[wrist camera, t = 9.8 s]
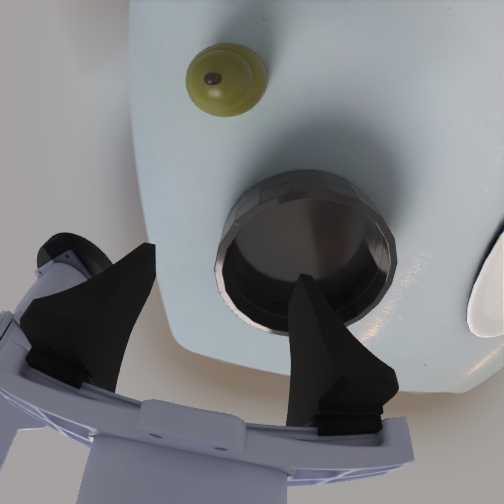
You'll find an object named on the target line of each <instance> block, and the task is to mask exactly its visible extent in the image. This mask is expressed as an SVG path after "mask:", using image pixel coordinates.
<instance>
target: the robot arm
mask: <svg viewBox="0 0 504 504" xmlns="http://www.w3.org/2000/svg"><path fill="white" fill-rule="evenodd" d="M34 273H35V275H36V277H37V278H38V279H37V281H36V282H35V283H34V284H33V286H32V287H31V288H30V290H29V291H28V292H27V293H26V295H25V296H24V297H23V299H22V300H21V302H20V303H19V304H18V306H17V307H16V309H15V312H14V314H12V313H11V312H10V311H7V312H5V311H2V312H1V313H0V472H1V469H2V466H3V464H4V461H5V459H6V456H7V454H8V452H9V449H10V447H11V445H12V442H13V440H14V438H15V436H16V434H17V431H18V430H25V429H41V428H45V427H46V426H49V427H51V428H52V429H54V430H56V431H58V432H60V433H61V434H63V435H65V436H67V437H69V438H71V439H73V440H75V441H77V442H79V443H81V444H83V445H85V446H88V447H90V448H91V449H90V453H89V456H88V460H87V463H86V467H85V471H84V474H83V478H82V482H81V486H80V490H79V494H78V498H77V503H76V504H287V487H288V486H306V485H318V484H327V483H335V482H342V481H350V480H356V479H361V478H367V477H374V476H379V475H384V474H386V473H388V472H391V471H394V470H396V469H398V468H400V467H403V466H405V465H407V464H409V463H411V462H413V461H414V455H413V449H412V443H411V438H410V433H409V428H408V423H407V418H406V417H405V416H404V417H394V418H387V419H384V420H381V416H380V415H381V414H383V407H382V406H383V405H384V404H385V403H387V402H388V401H389V400H390V399H391V398H393V397H394V395H395V394H396V393H397V392H398V390H399V385H398V381H397V377H396V374H395V371H394V369H392V368H391V367H390V366H388V365H387V364H385V363H384V362H382V361H381V360H380V359H378V358H377V357H376V356H375V355H373V354H372V353H371V352H370V351H369V350H368V349H367V348H365V347H364V346H363V345H362V344H361V343H360V342H359V341H358V340H357V339H356V338H355V337H354V336H353V335H352V333H351V332H350V331H349V330H348V329H347V328H346V326H345V325H344V324H343V323H342V321H341V320H340V319H339V317H338V316H337V315H336V313H335V312H334V311H333V309H332V308H331V306H330V305H329V303H328V301H327V300H326V298H325V297H324V295H323V293H322V292H321V290H320V288H319V287H318V285H317V283H316V282H315V280H314V278H313V277H312V275H307V274H302V273H300V275H299V277H298V280H297V282H296V285H295V287H294V290H293V292H292V295H291V297H290V300H289V302H288V330H289V342H290V354H291V376H290V393H289V403H288V414H287V421H286V426H275V425H262V424H253V423H245V422H244V420H242V419H240V418H238V417H236V416H233V415H230V414H226V413H220V412H214V411H208V410H203V409H198V408H193V407H188V406H183V405H179V404H175V403H170V402H166V401H161V400H154V399H151V400H145V401H143V402H141V401H138V400H135V399H131V398H128V397H125V396H121V395H119V394H115V389H116V384H117V379H118V375H119V371H120V367H121V363H122V360H123V356H124V353H125V349H126V346H127V343H128V340H129V337H130V334H131V332H132V329H133V327H134V325H135V323H136V320H137V318H138V316H139V314H140V312H141V310H142V308H143V306H144V304H145V302H146V300H147V298H148V296H149V294H150V291H151V289H152V286H153V283H154V280H155V277H156V251H155V244H150V243H143V244H141V245H140V246H138V247H137V248H136V249H134V250H133V251H132V252H130V253H129V254H128V255H126V256H125V257H123V258H122V259H121V260H119V261H118V262H116V263H115V264H113V265H112V266H110V267H109V268H107V269H106V270H104V271H103V272H101V273H100V274H98V275H96V276H94V277H92V276H91V274H90V273H89V272H88V270H87V269H86V268H85V266H84V265H83V264H82V262H81V261H80V260H79V258H78V257H77V256H76V254H75V253H74V252H73V251H72V250H67V251H66V252H64V253H62V254H61V255H59V256H57V257H56V258H54V259H52V260H51V261H49V262H48V263H46V264H44V265H43V266H41V267H40V268H38V269H37V270H35V272H34Z"/></svg>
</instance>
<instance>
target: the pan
mask: <svg viewBox="0 0 504 504" xmlns="http://www.w3.org/2000/svg"><path fill="white" fill-rule="evenodd" d="M396 266H397V253H396V245H395V239H394V237H393V235H392V233H391V231H390V229H389V228H388V226H387V224H386V223H385V221H384V219H383V217H382V216H381V215H380V213H379V212H378V210H377V209H376V207H375V206H374V205H373V203H372V202H371V200H370V199H369V198H368V197H367V195H365V194H364V193H363V192H362V191H361V190H360V189H359V188H358V187H356V186H355V185H354V184H352V183H351V182H349V181H347V180H346V179H344V178H342V177H339V176H337V175H334V174H331V173H327V172H323V171H315V170H297V171H290V172H285V173H281V174H278V175H275V176H272V177H270V178H268V179H265V180H263V181H262V182H260V183H258V184H257V185H255V186H254V187H252V188H251V189H250V190H249V191H247V192H246V193H245V194H244V195H243V196H242V197H241V198H240V199H239V201H238V202H237V203H236V205H235V206H234V208H233V209H232V211H231V213H230V215H229V217H228V219H227V220H226V222H225V226H224V229H223V232H222V236H221V239H220V243H219V247H218V252H217V257H216V262H215V268H214V272H215V276H216V281H217V286H218V290H219V293H220V295H221V296H222V298H223V299H224V301H225V302H226V304H227V305H228V307H229V308H230V310H231V311H232V312H233V313H235V314H236V315H237V316H238V317H240V318H241V319H242V320H244V321H245V322H246V323H247V324H249V325H251V326H253V327H256V328H258V329H261V330H263V331H265V332H268V333H271V334H276V335H282V336H288V337H289V330H288V302H289V300H290V297H291V295H292V292H293V290H294V287H295V285H296V282H297V280H298V277H299V275H300V273H302V274H307V275H312V277H313V278H314V280H315V282H316V283H317V285H318V287H319V288H320V290H321V292H322V293H323V295H324V297H325V298H326V300H327V301H328V303H329V305H330V306H331V308H332V309H333V311H334V312H335V313H336V315H337V316H338V317H339V319H340V320H341V321H342V323H343V324H344V325H345V326H346V327H347V326H349V325H351V324H353V323H355V322H357V321H358V320H360V319H361V318H363V317H364V316H366V315H367V314H368V313H369V312H370V311H371V310H372V309H374V308H375V307H376V306H377V305H378V304H379V303H380V301H381V300H382V298H383V297H384V295H385V294H386V292H387V291H388V289H389V288H390V286H391V284H392V282H393V278H394V274H395V270H396Z"/></svg>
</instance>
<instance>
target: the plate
mask: <svg viewBox="0 0 504 504" xmlns="http://www.w3.org/2000/svg"><path fill="white" fill-rule="evenodd" d="M466 321H467V323H468V326H469V328H470V331H471V332H472V333H474V334H475V335H477V336H478V337H488V338H491V337H495V336H499V335H502V334H504V229H503V231H502V232H501V233H500V235H499V236H498V238H497V240H496V242H495V243H494V245H493V247H492V249H491V250H490V252H489V254H488V255H487V257H486V258H485V260H484V262H483V265H482V267H481V269H480V271H479V274H478V276H477V278H476V280H475V282H474V284H473V287H472V291H471V294H470V297H469V301H468V304H467V319H466Z"/></svg>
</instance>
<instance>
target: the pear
mask: <svg viewBox="0 0 504 504" xmlns="http://www.w3.org/2000/svg"><path fill="white" fill-rule="evenodd" d="M267 80H268V79H267V72H266V68H265V66H264V63H263V62H262V60H261V59H260V57H259V56H258V55H257V54H256V53H255V52H253V51H252V50H251V49H249V48H247V47H245V46H243V45H240V44H236V43H219V44H215V45H212V46H210V47H208V48H206V49H204V50H203V51H201V52H200V53H199V54H198V55H197V56H196V57H195V58H194V59H193V60H192V62H191V63H190V65H189V67H188V70H187V74H186V88H187V92H188V94H189V97H190V98H191V100H192V101H193V102H194V104H195V105H196V106H197V107H198V108H200V109H201V110H203V111H204V112H206V113H208V114H211V115H214V116H219V117H232V116H236V115H240V114H242V113H245V112H247V111H248V110H250V109H251V108H253V107H254V106H255V105H256V104H257V103H258V102H259V101H260V99H261V98H262V96H263V94H264V92H265V90H266V87H267Z"/></svg>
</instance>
